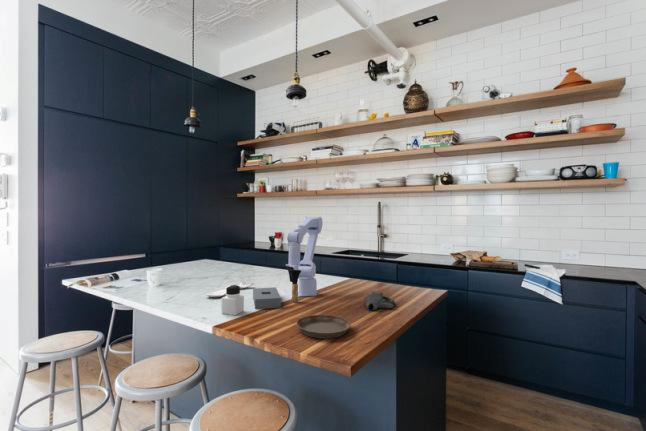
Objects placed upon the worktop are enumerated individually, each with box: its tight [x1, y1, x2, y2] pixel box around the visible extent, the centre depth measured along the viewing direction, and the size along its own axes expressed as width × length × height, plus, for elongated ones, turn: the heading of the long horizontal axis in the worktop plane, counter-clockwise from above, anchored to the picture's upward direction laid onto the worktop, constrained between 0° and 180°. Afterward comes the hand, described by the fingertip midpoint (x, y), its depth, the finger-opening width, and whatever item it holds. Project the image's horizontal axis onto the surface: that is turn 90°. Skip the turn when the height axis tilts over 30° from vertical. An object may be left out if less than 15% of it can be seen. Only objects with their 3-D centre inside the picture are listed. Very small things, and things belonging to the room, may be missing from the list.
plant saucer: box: [296, 314, 351, 339], centre depth 131 cm, size 21×21×3 cm
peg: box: [291, 283, 299, 304], centre depth 170 cm, size 3×3×9 cm
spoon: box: [205, 280, 255, 298], centre depth 189 cm, size 9×32×4 cm, turn 153°
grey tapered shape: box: [363, 290, 397, 311], centre depth 167 cm, size 5×25×15 cm
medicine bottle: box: [221, 284, 245, 316], centre depth 152 cm, size 7×7×12 cm
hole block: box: [252, 287, 282, 310], centre depth 170 cm, size 12×22×4 cm, turn 14°
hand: (293, 282), depth 170 cm, fingers open, 7 cm apart
